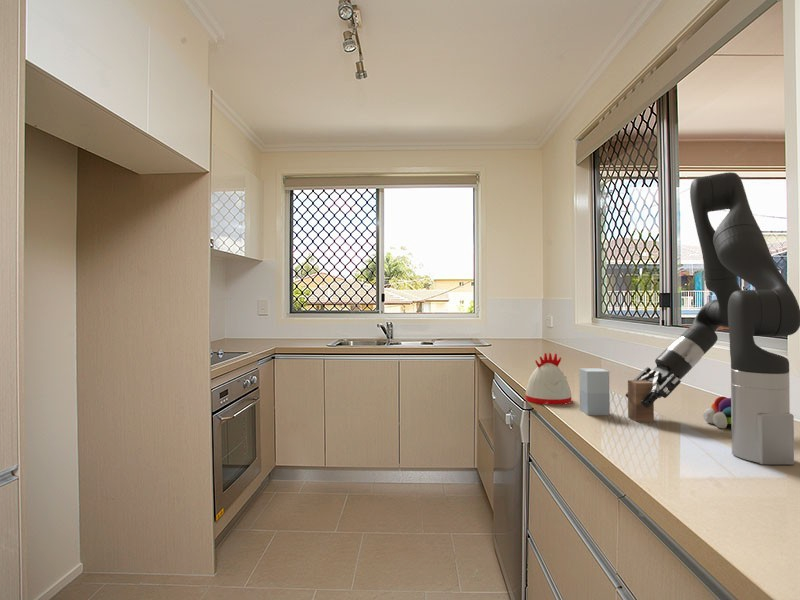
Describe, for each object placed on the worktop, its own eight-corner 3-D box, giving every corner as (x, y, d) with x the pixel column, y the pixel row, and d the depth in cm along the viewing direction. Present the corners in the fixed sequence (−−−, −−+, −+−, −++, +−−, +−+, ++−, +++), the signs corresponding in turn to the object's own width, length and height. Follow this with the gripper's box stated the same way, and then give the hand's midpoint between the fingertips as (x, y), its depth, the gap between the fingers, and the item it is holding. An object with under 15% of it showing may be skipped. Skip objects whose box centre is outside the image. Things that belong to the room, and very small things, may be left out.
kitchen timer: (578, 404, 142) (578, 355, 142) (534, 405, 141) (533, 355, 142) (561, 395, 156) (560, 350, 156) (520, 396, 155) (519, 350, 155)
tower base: (609, 415, 128) (609, 393, 128) (587, 415, 129) (587, 393, 129) (600, 410, 134) (600, 389, 134) (579, 410, 135) (579, 389, 135)
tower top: (609, 393, 128) (609, 371, 128) (587, 393, 129) (587, 371, 129) (600, 389, 134) (600, 368, 134) (579, 389, 135) (579, 368, 135)
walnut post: (653, 421, 121) (653, 383, 121) (636, 421, 121) (635, 383, 121) (645, 417, 125) (644, 380, 125) (628, 417, 126) (627, 380, 126)
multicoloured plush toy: (734, 421, 121) (733, 393, 121) (758, 432, 111) (758, 401, 111) (699, 421, 122) (699, 393, 122) (721, 431, 112) (720, 401, 112)
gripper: (655, 345, 130) (613, 386, 131) (684, 350, 116) (638, 397, 116) (674, 364, 130) (633, 405, 130) (706, 372, 116) (660, 418, 116)
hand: (635, 401), depth 123 cm, fingers open, 8 cm apart
